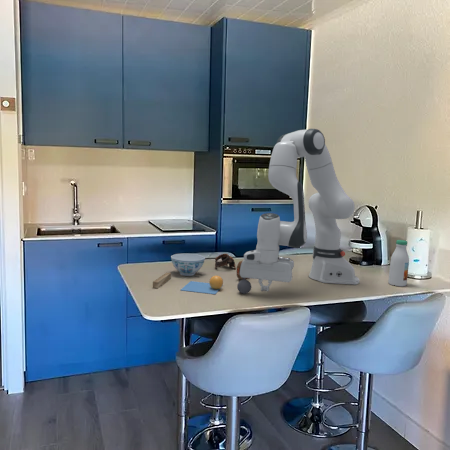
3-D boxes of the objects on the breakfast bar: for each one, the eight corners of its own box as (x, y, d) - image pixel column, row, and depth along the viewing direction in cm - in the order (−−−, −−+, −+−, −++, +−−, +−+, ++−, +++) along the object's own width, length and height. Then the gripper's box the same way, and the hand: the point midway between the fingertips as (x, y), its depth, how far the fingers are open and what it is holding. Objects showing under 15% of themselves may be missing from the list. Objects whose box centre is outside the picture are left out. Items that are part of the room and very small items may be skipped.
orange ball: (218, 271, 183) (208, 279, 184) (215, 274, 177) (204, 282, 179) (227, 282, 182) (217, 290, 184) (224, 285, 177) (213, 293, 178)
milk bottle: (397, 287, 198) (402, 242, 196) (384, 282, 205) (388, 239, 202) (410, 286, 202) (415, 241, 199) (396, 281, 209) (401, 238, 206)
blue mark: (223, 285, 187) (223, 284, 187) (215, 294, 174) (215, 293, 174) (190, 281, 190) (190, 281, 190) (180, 290, 176) (180, 289, 176)
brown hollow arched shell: (238, 272, 213) (232, 258, 210) (220, 280, 213) (213, 266, 210) (235, 260, 224) (228, 246, 221) (217, 267, 224) (210, 254, 221)
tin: (240, 281, 194) (242, 262, 193) (234, 280, 196) (235, 261, 195) (257, 275, 207) (258, 257, 206) (251, 274, 208) (252, 256, 207)
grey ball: (235, 280, 179) (241, 291, 180) (234, 287, 174) (241, 298, 175) (247, 274, 177) (254, 285, 179) (246, 281, 172) (253, 292, 174)
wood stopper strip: (170, 278, 193) (171, 273, 192) (157, 288, 177) (157, 282, 177) (166, 278, 193) (166, 272, 193) (152, 288, 178) (152, 281, 177)
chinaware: (180, 268, 212) (181, 252, 211) (209, 272, 207) (210, 256, 206) (164, 275, 199) (164, 257, 197) (195, 280, 193) (195, 262, 192)
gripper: (294, 256, 176) (292, 291, 177) (242, 251, 180) (240, 285, 182) (293, 260, 169) (291, 295, 171) (239, 254, 174) (237, 289, 175)
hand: (264, 290), depth 177 cm, fingers closed
